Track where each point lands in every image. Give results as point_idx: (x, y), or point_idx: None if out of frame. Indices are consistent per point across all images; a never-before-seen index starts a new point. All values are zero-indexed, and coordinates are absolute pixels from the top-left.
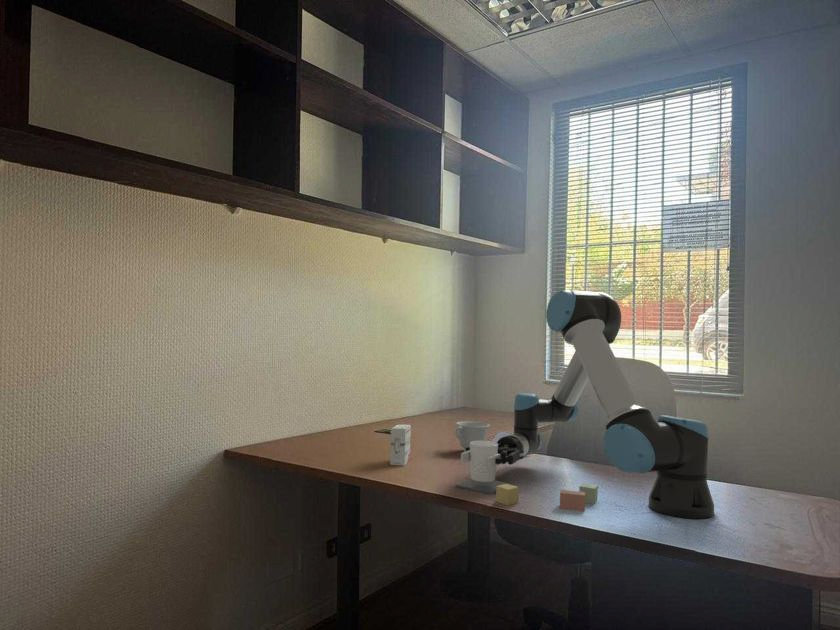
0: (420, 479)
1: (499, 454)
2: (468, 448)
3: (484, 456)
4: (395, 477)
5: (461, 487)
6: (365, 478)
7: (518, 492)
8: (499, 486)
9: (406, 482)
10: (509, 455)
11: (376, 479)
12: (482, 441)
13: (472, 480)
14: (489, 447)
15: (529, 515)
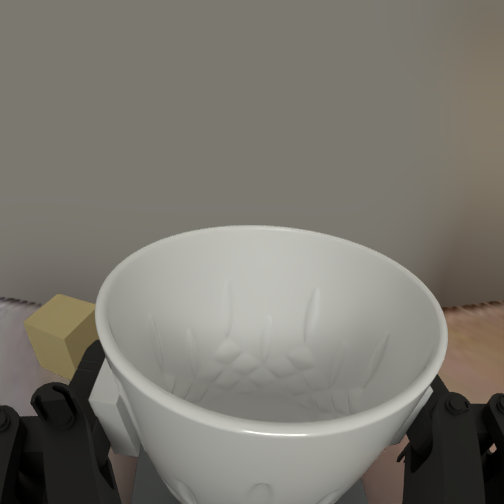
0: (469, 378)
1: (97, 384)
2: (489, 401)
3: (200, 306)
4: (499, 344)
5: None
6: (496, 304)
7: (29, 338)
8: (88, 305)
9: (448, 337)
10: (9, 412)
11: (486, 312)
12: (419, 376)
13: (338, 501)
14: (161, 247)
15: (22, 301)
